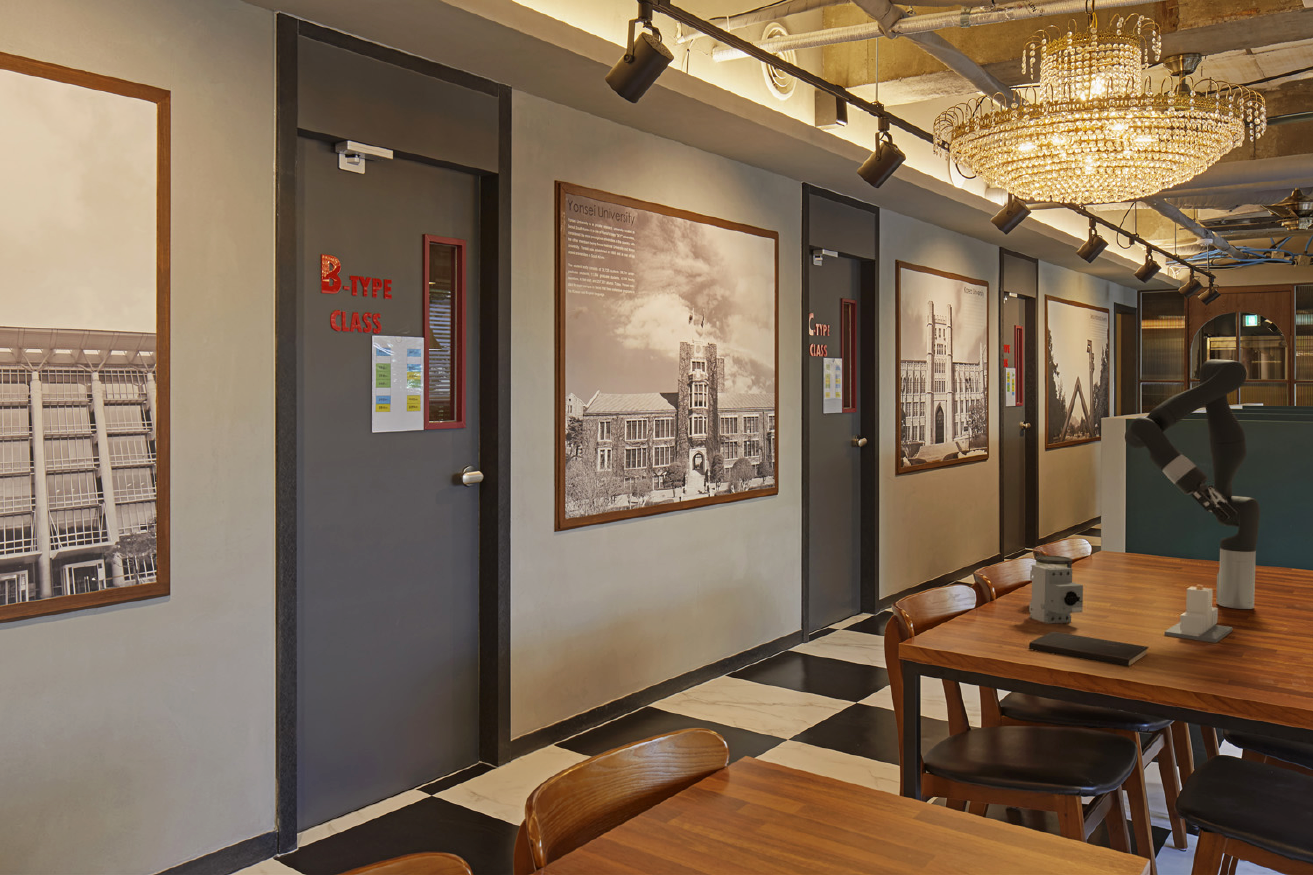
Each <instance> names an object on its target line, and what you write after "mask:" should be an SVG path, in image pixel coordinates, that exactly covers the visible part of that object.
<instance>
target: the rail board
mask: <svg viewBox="0 0 1313 875" xmlns="http://www.w3.org/2000/svg"><path fill="white" fill-rule="evenodd" d="M1218 609H1219V608H1218V607H1216V606H1215V607H1213V606H1212V626H1211V627H1210V628H1208V629H1206V622H1207V615H1203V614H1196V613H1189V612H1186V611H1185V612H1183V613H1182V614H1180V615H1179V617H1180V619H1179V622H1177V623H1176V624H1174V625H1173V626H1171V627H1170V628H1168V629H1166V630H1165V631H1164V636H1168V637H1174V638H1180V639H1185V640H1186V639H1187V640H1193V639H1194V641H1201V642H1206V643H1207V642H1208V643H1213V644H1217V643H1218V642H1220V641H1221V640H1223V639H1224V638H1225V637H1226V636H1228V634H1230V633H1231V632H1233V627H1232V626H1227V625H1226V626H1225V625H1219V624H1217V623H1218V611H1219V610H1218Z"/></svg>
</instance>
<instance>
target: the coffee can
mask: <svg viewBox="0 0 1313 875" xmlns="http://www.w3.org/2000/svg"><path fill="white" fill-rule="evenodd" d="M1045 564H1054V565H1059V566H1063V567H1067V568H1071V569H1072V570H1073V568H1072V566H1073V565H1072V564H1073V559H1072V558H1071V557H1068V556H1061V555H1037V556H1035V565H1045Z"/></svg>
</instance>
